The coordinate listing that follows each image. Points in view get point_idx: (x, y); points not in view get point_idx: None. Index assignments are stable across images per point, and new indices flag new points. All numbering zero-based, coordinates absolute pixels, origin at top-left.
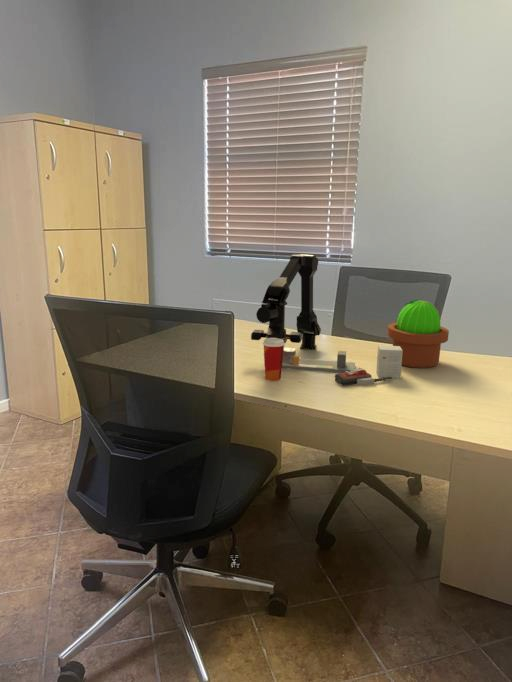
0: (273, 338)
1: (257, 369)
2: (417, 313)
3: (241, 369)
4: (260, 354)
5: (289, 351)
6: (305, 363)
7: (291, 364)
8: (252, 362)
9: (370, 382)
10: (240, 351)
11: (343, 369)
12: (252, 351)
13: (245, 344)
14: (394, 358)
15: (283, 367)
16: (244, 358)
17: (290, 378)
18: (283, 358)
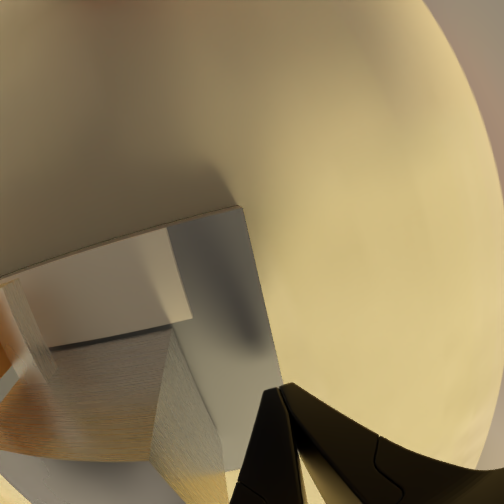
0: None
1: (366, 87)
2: None
3: (454, 66)
4: (421, 439)
5: (18, 456)
6: (2, 395)
7: (40, 313)
8: (458, 274)
9: None
10: (496, 399)
11: None
12: (454, 438)
13: (466, 464)
14: None
15: (109, 241)
16: (495, 322)
17: (2, 31)
18: (130, 365)
